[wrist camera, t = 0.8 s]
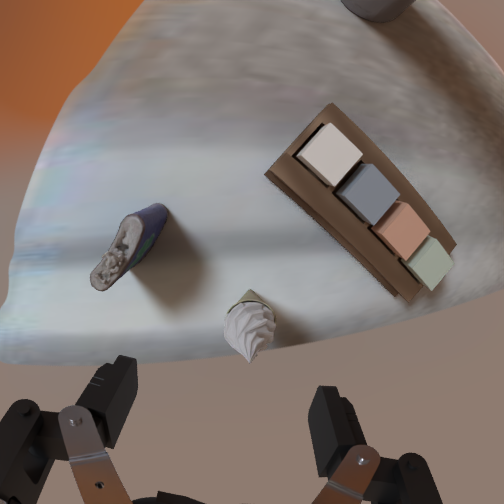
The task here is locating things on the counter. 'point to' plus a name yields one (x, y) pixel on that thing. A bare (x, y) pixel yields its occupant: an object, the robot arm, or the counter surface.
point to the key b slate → (368, 193)
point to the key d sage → (429, 262)
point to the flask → (129, 245)
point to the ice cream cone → (249, 325)
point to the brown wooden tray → (342, 216)
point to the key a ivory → (329, 154)
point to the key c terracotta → (401, 229)
